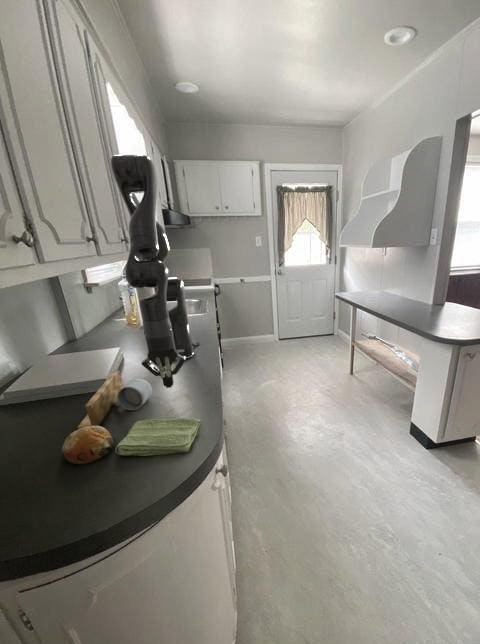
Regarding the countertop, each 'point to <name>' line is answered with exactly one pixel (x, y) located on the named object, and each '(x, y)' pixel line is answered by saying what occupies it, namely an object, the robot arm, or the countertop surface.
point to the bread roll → (87, 444)
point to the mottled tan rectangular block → (102, 401)
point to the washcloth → (159, 437)
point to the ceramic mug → (134, 394)
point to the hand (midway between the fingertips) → (169, 386)
